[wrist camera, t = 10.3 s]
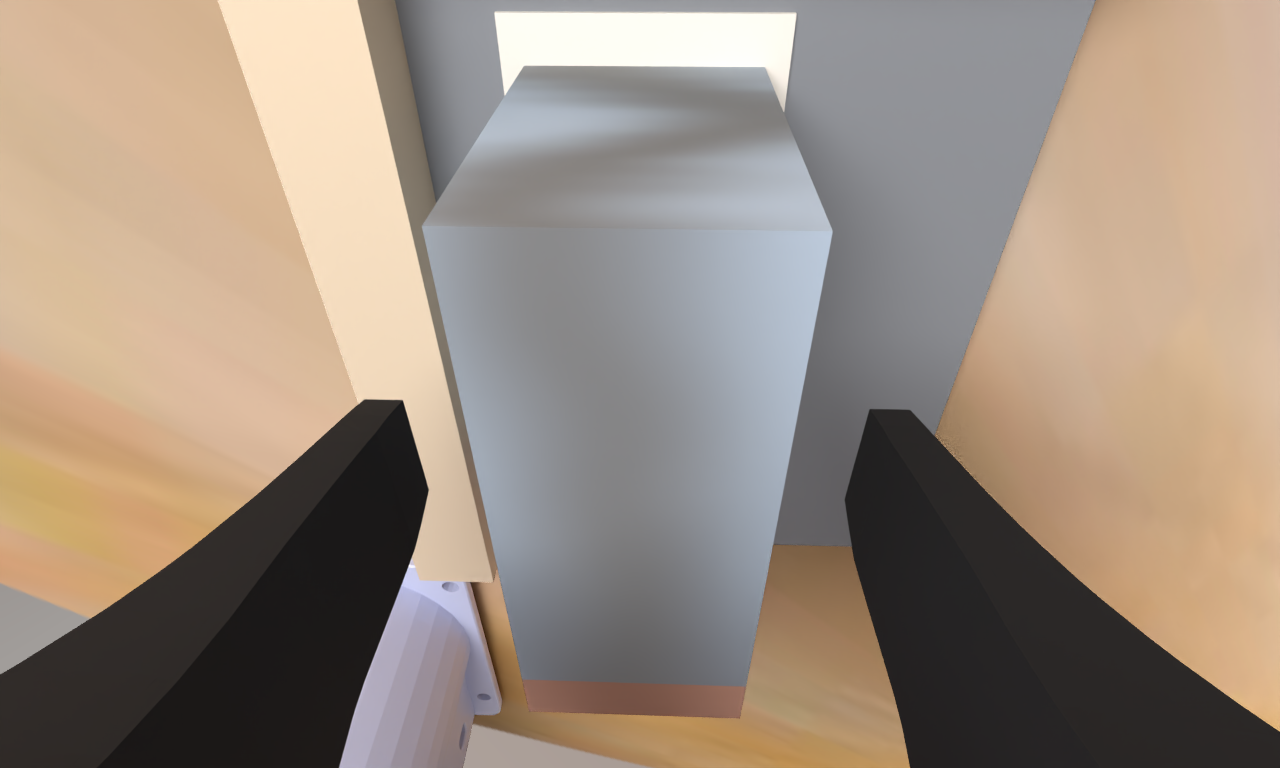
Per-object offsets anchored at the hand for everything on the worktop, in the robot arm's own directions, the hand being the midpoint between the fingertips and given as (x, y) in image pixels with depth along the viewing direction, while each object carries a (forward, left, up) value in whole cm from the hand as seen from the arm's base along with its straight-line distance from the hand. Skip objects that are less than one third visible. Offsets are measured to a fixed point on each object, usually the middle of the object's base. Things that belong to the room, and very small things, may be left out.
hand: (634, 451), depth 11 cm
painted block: (0, 0, -4) cm, 4 cm away
